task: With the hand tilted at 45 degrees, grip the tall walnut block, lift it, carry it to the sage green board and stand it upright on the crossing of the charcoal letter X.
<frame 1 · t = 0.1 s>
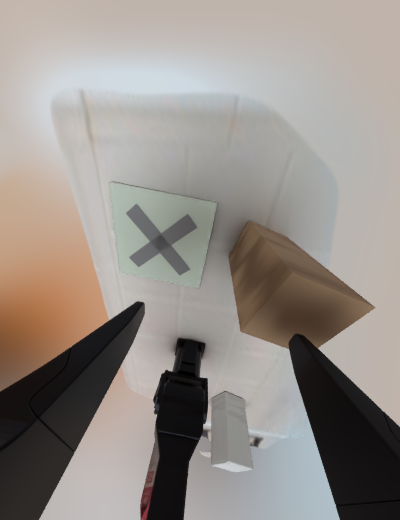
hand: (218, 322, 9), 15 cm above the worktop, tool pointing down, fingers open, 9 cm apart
walnut block: (256, 247, 22), on the worktop
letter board: (162, 241, 23), on the worktop
juice carton: (179, 392, 47), on the worktop
supplement box: (227, 397, 46), on the worktop
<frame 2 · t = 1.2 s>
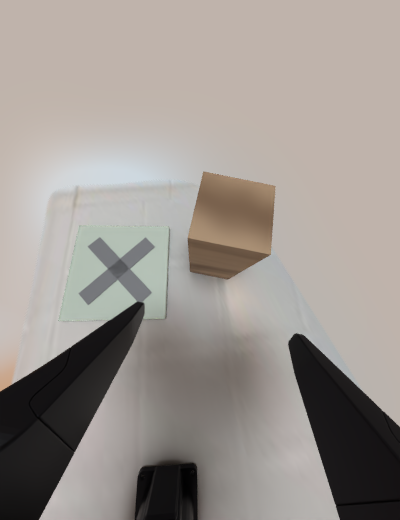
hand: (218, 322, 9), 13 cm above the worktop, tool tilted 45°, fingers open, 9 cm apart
walnut block: (212, 257, 24), on the worktop
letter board: (121, 270, 22), on the worktop
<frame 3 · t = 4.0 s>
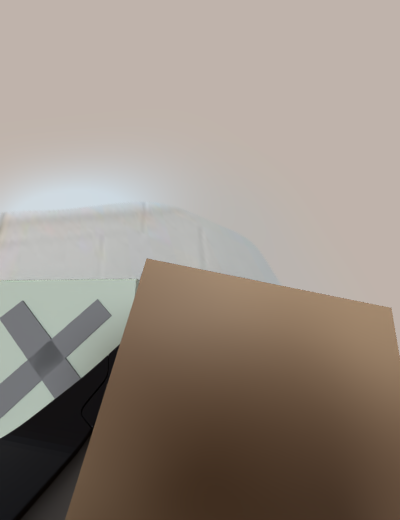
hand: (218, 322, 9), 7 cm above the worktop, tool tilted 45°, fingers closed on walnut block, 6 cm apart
walnut block: (203, 327, 15), on the worktop, touching gripper
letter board: (55, 355, 14), on the worktop
when the fingers open (9 cm above the worktop, at t = 8.7 s): walnut block drops 1 cm, resting on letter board.
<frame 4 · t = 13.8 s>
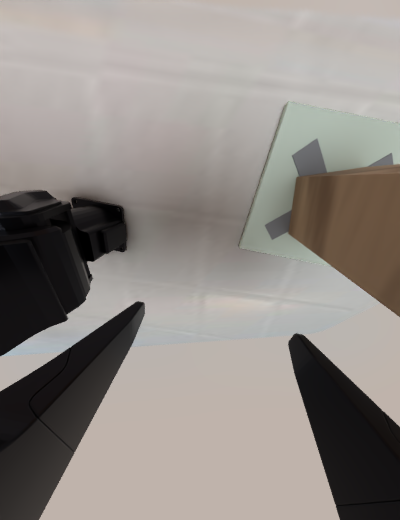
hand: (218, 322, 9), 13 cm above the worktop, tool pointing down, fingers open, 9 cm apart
walnut block: (322, 204, 16), point 1 cm above the worktop, touching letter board
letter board: (317, 202, 17), on the worktop
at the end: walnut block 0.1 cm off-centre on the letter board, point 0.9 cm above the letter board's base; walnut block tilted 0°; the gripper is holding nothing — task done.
